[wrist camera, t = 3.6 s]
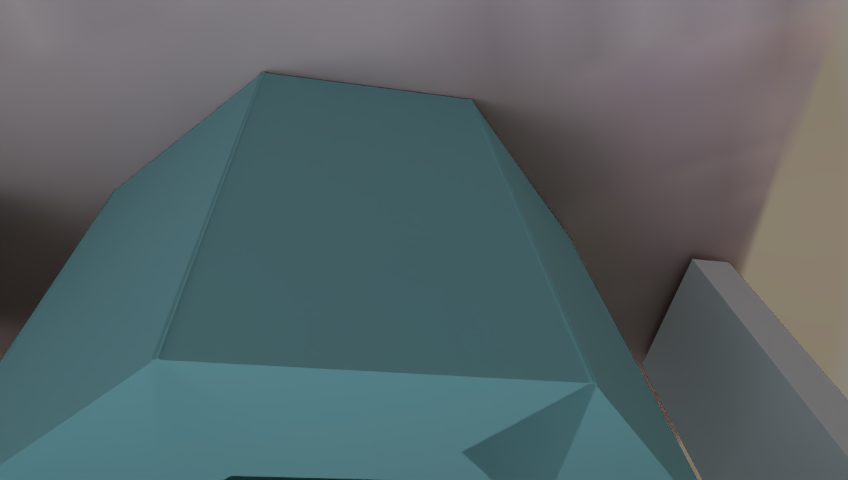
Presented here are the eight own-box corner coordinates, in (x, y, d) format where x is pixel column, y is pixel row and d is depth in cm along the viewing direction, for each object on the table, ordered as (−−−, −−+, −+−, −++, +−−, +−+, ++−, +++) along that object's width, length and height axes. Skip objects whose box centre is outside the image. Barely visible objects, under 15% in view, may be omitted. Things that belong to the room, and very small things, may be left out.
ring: (498, 435, 14) (578, 767, 9) (138, 421, 13) (1, 798, 8) (607, 116, 10) (854, 395, 5) (99, 49, 9) (-233, 336, 4)
